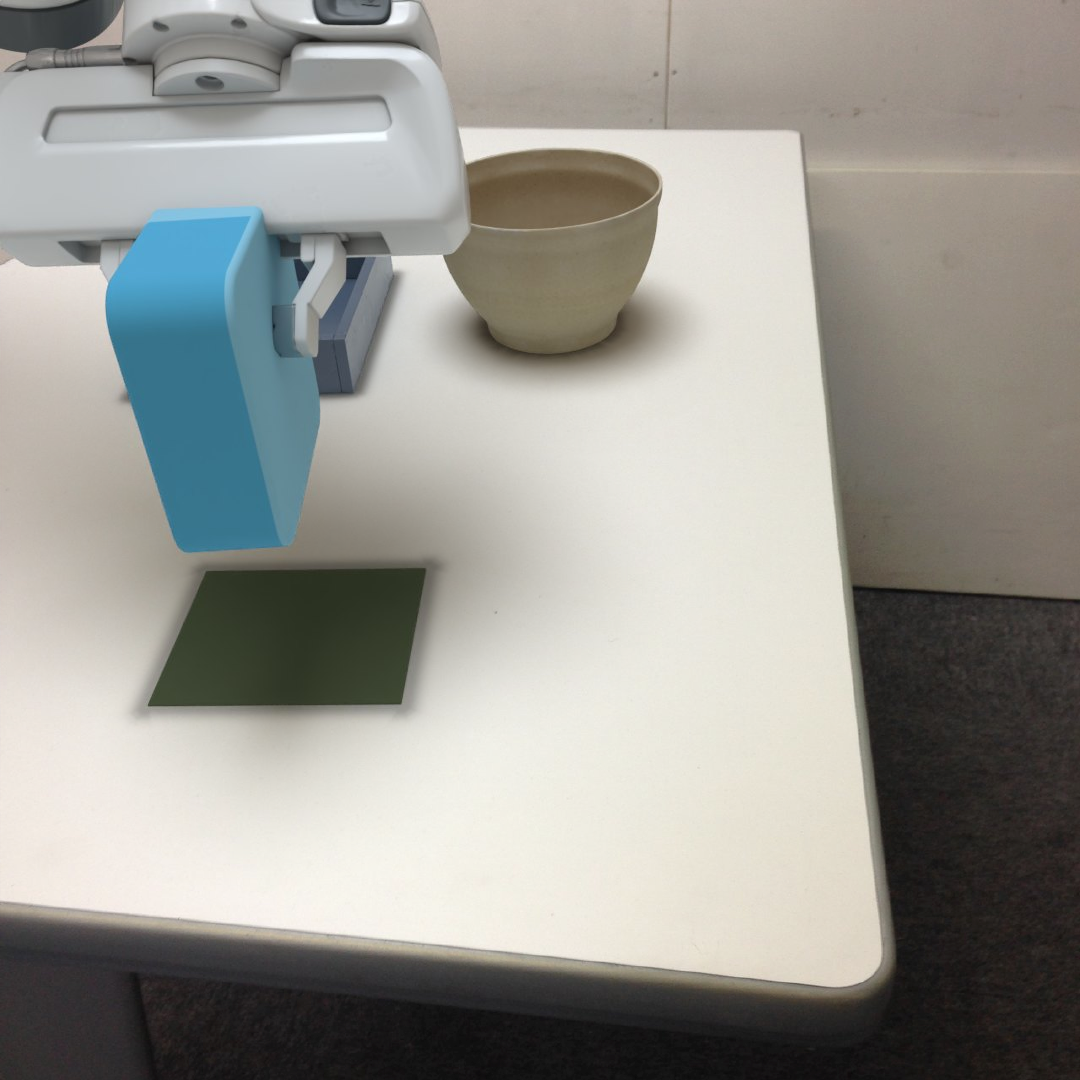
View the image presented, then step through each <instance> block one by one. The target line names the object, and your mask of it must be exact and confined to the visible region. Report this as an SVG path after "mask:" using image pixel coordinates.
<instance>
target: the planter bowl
mask: <svg viewBox="0 0 1080 1080" xmlns="http://www.w3.org/2000/svg"><path fill="white" fill-rule="evenodd" d="M465 163H466V169H467V177H468V184H469V194H470V208H471V231H470V233H469V235H468V236H467V237H466V239H465V240H464V241H463V243H462V244H461V245H460V247H459V248H458V249H457V250H456V251H455V252H454V253H452V254H448V255H442V258H443V260H444V263H445V265H446V267H447V269H448V272H449V274H450V276H451V278H452V280H453V281H454V283H455V285H456V286H457V288H458V289H459V291H460V293H461V294H462V296H463V297H464V299H465V300H466V302H468V304H469V305H470V306H471V307H472V309H474V311H475V312H476V313H477V314H478V315H479V316H480V317H481V318H482V319H483V320H484V321H486V325H487V328H488V331H489V334H490V335H491V337H492V338H493V339H494V340H495V342H497V343H499V344H500V345H502V346H504V347H507V348H508V349H512V350H515V351H519V352H524V353H529V354H539V355H541V354H542V355H553V354H554V355H555V354H566V353H571V352H576V351H580V350H583V349H586V348H590V347H592V346H595V345H597V344H599V343H601V342H602V341H604V340H605V339H607V338H608V337H609V336H610V335H611V334H612V333H613V331H614V330H615V328H616V325H617V321H618V315H619V313H620V312H621V310H622V309H623V308H624V307H625V305H627V303H628V301H629V300H630V298H631V297H632V295H634V292H635V291H636V289H637V287H638V285H639V284H640V282H641V280H642V278H643V275H644V273H645V271H646V268H647V266H648V263H649V261H650V257H651V255H652V252H653V248H654V244H655V241H656V234H657V227H658V221H659V220H658V219H659V218H658V217H659V206H660V204H661V201H662V196H663V186H664V185H663V183H664V182H663V178H662V175H661V174H660V172H659V171H658V170H657V169H656V168H655V167H654V166H653V165H651V164H650V163H648V162H646V161H643V160H642V159H639V158H637V157H634V156H631V155H628V154H624V153H621V152H617V151H611V150H604V149H597V148H584V147H537V148H527V149H519V150H512V151H505V152H501V153H496V154H492V155H491V154H490V155H487V156H483V157H480V158H477V159H473V160H470V161H467V162H465Z"/></svg>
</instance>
